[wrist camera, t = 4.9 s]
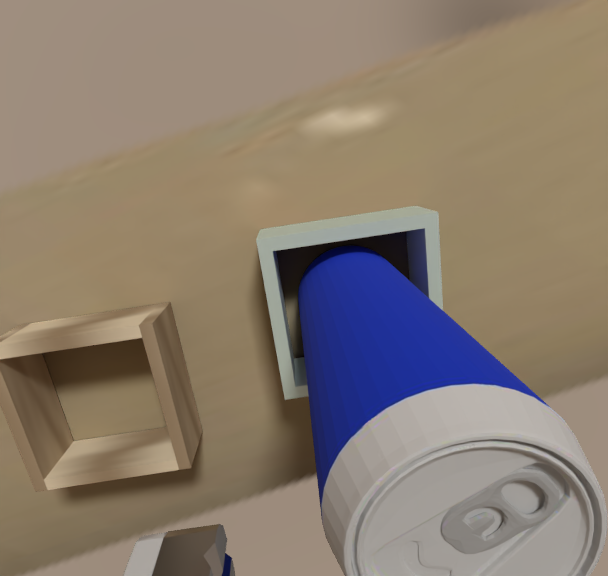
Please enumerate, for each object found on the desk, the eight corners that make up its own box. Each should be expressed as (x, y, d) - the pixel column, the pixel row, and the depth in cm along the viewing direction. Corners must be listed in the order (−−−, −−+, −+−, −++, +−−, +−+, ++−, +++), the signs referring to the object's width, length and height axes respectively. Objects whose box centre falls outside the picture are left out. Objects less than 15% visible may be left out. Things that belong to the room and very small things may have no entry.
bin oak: (170, 302, 21) (152, 323, 18) (202, 430, 23) (191, 467, 20) (19, 325, 21) (-23, 349, 18) (66, 451, 23) (35, 491, 20)
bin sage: (416, 205, 20) (437, 212, 17) (425, 348, 22) (446, 375, 20) (260, 229, 20) (256, 239, 17) (284, 370, 22) (284, 400, 20)
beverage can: (343, 356, 22) (450, 694, 8) (277, 291, 21) (261, 552, 7) (415, 292, 22) (680, 543, 7) (351, 221, 20) (512, 351, 6)
